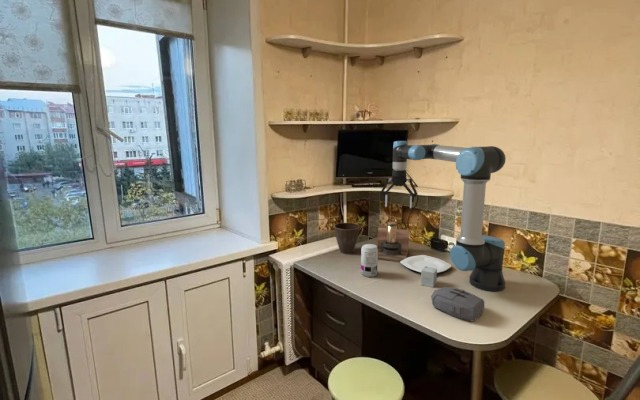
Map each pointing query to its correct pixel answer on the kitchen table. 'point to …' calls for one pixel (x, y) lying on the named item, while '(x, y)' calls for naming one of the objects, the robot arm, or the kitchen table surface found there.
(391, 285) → the kitchen table surface
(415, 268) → the plate
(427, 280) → the skincare box
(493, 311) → the kitchen table surface
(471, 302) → the soft grey pack
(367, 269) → the supplement can
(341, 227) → the plant pot
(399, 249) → the transparent box
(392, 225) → the clear glass cylinder
